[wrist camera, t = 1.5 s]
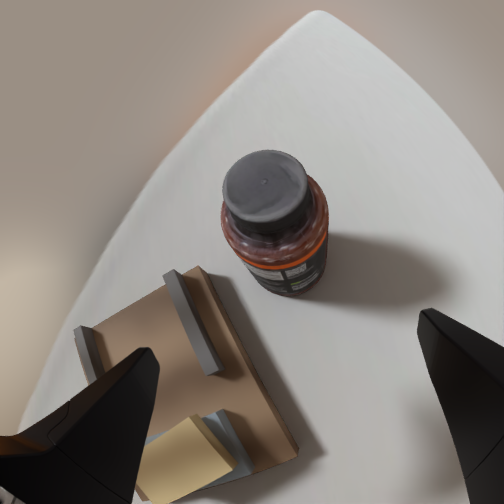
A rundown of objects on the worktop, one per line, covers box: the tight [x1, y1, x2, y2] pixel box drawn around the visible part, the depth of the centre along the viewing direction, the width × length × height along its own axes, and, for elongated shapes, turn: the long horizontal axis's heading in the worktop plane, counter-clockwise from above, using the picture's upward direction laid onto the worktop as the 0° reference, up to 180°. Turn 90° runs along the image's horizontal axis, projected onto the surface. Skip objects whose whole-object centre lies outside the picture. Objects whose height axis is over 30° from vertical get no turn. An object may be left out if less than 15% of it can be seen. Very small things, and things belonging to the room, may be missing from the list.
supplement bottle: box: [221, 150, 329, 296], centre depth 18 cm, size 6×6×11 cm
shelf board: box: [74, 266, 299, 504], centre depth 19 cm, size 16×14×5 cm
